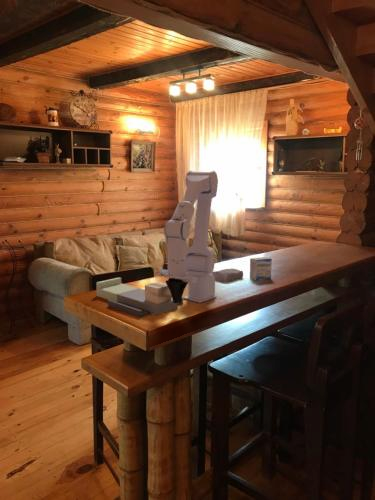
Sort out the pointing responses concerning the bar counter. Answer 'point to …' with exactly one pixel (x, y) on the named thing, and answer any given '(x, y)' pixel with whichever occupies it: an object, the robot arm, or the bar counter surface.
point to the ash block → (157, 292)
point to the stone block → (227, 275)
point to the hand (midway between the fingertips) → (177, 302)
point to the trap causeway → (131, 299)
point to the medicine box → (260, 268)
